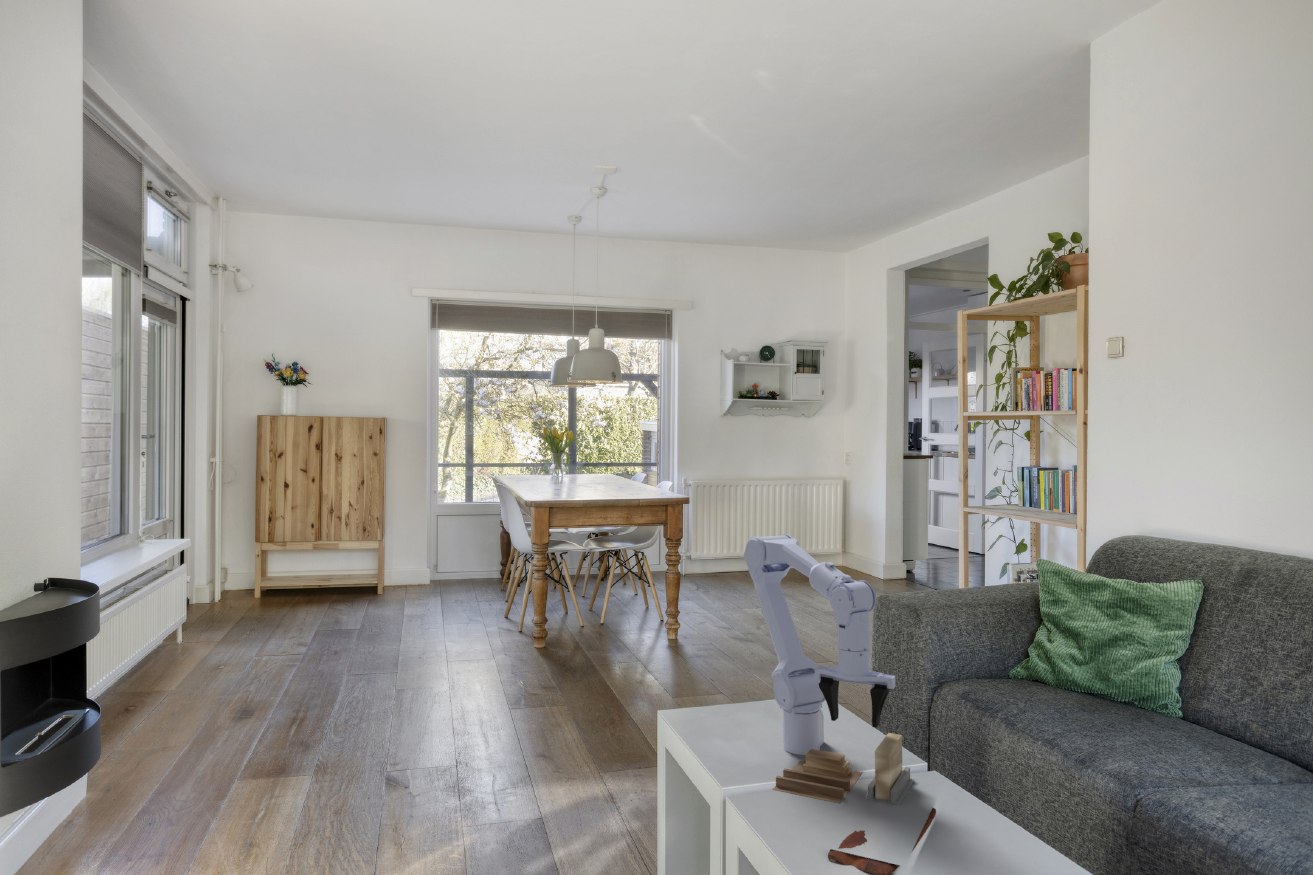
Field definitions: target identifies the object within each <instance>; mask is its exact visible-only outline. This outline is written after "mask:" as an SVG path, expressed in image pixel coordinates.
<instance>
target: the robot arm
mask: <svg viewBox="0 0 1313 875" xmlns="http://www.w3.org/2000/svg"><path fill="white" fill-rule="evenodd" d="M743 557H744V559H745V563H746V565H747V570H748V572H749V576H750V579H751V580H752V581H753V585H754V590H755V592H756V595H757V598H758V601H759V604H760V608H761V612H762V613H763V617H764V620H765V624H766V626H767V629H768V631H769V632H768V633H769V636H770V638H771V641H772V645H773V648H774V652H775V654H776V658H777V661H778V664H777V666H776V667H775V669H774V670H773V671H772V673H771V675H770V677H771V680H772V683H773V695H774V698H775V701H776V703H777V705H778V706H779V708H780V709H782V734H783V736H782V742H783V745H782V748H783V750H784V751H785V752H786V753H787V752H788V753H790V754H794V755H798V756H799V755H800V756H805V755H806V754H807V753H808V752H809V751H810V750H811V749H815V750H821V746H822V745H823V744H824V743H825V724H824V723H825V721H824V720H825V718H824V712H823V711H822V708H823V703H824V702H826V705H827V708H828V711H829V715H830V721H833V722H835V721H837V720H838V719H839V711H840V710H839V690H840V689H839V686H840V682H845V683H854V684H860V685H861V684H862V685H868V686H873V687H871V689H870V690H869V691H870V692H869V693H870V699H871V708H872V710H871V712H872V713H871V714H872V715H871V723H872V725H871V726H872V728H875V729H876V728H878V726H880V722H881V716H882V715H881V714H882V711H883V707H884V705H885V702H886V699H887V697H888V695H889V692H890V690H894V688H895V687H896V675H892V674H886V673H882V672H878V671H873V670H871V648H870V647H871V645H870V644H871V643H870V642H871V641H870V612H872V611H873V609H874V608H875V607H876V602H877V601H876V600H877V598H876V592H875V590H874V588H873V587H872V585H871V584H870V583H869V582H868V581H867V580H863V579H862V580H861V579H860V580H855V579H853V578H852V576H850V575H849V574H845V573H844V572H843V571H841V570H840V569H838V568H837V567H836V564H835V563H834V562H832V561H829V562H828V561H823V562H819V561H818V560H816V559H815V558H814V557H813V556H811V554H809V553H808V552H807V551H805V550H804V549H803V548H802V547H800V545H799V542H798V539H796V538H794V537H793V536H791V535H790V534H782V535H770V536H751V537H749V538H748V540H747V542H746V544H745V550H744V552H743ZM791 568H793V569H794V570H796V571H797V572H799V573H801V574H802V575H804V576H805V577H807V578H808V580H809V581H808V582H809V585H810V587H812V588H813V589H814V590H815V591H817V592H818V593H819V594H821V595H822V596H823V597H824V598H825V599H828V601H829V602H830V606H831V609H832V610H833V613H834V614H833V615H834V621H835V623H836V624H837V666H834V667H833V666H819V665H818V664H817V662H815V661H813V660H812V659H811V658H809V657H807V656H806V655H805V653H804V651H803V647H802V645H801V641H800V637H799V635H798V633H797V630H796V629H797V628H796V627H795V624H794V621H793V620H794V619H793V618H792V615H791V612H790V609H789V606H788V603H787V601H786V600H787V599H786V596H785V594H784V591H783V588H782V585H781V583H782V579H784V578H785V577H787V575H788V573H789V572H790V570H791Z"/></svg>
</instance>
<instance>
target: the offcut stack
mask: <svg viewBox="0 0 1313 875" xmlns="http://www.w3.org/2000/svg"><path fill="white" fill-rule="evenodd" d="M804 756H805V757H804V758H805V759H804V760H805V763H804V765H803V771H807V772H812V773H818V774H823V775H828V776H834V777H839V778H844V779H846V777H847V776H848V775H849V774H850V772H851V770H852V768H851V767H852V766H850V761H849V760H845V759H846V758H845V757H846V756H845V754H843V753H838V752H834V751H833V752H831V751H826V750H821V749H820V750H815V749H811V750H810V751H809V752H808V753H807V754H806V755H804Z"/></svg>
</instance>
